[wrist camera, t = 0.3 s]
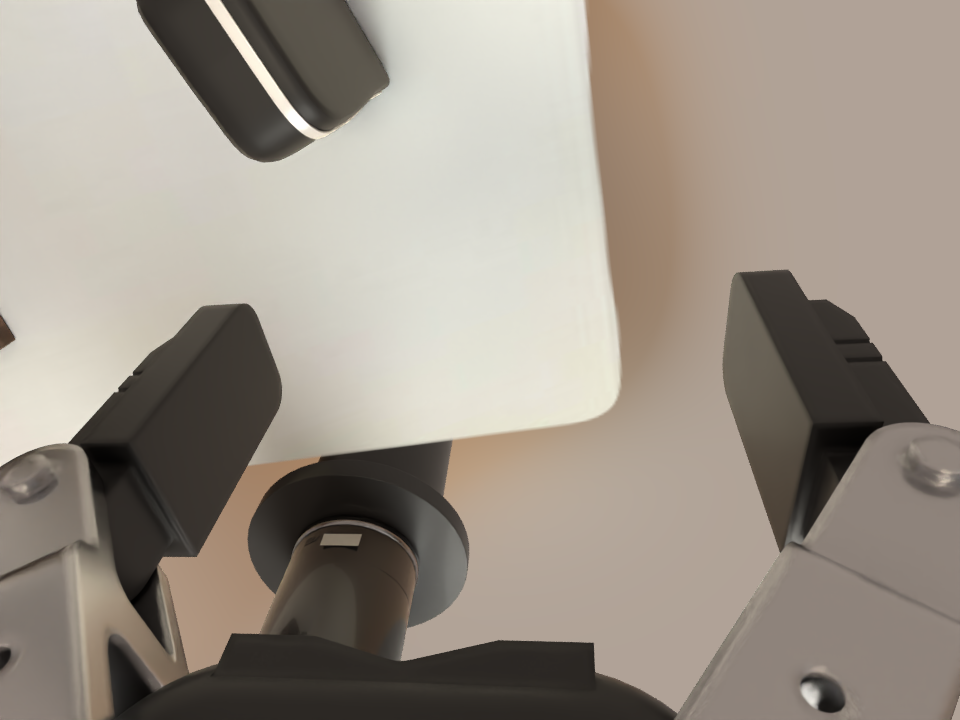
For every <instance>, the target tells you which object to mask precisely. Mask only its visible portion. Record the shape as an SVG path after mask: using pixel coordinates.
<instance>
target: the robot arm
mask: <svg viewBox="0 0 960 720" xmlns="http://www.w3.org/2000/svg"><path fill="white" fill-rule="evenodd" d="M723 379H724V386H725V391H726V395H727V398H728V401H729V403H730V407H731V410H732V412H733V415H734V418H735V421H736V424H737V427H738V430H739V433H740V436H741V439H742V442H743V445H744V448H745V450H746V454H747V457H748V460H749V463H750V465H751V468H752V471H753V474H754V477H755V480H756V483H757V486H758V489H759V492H760V495H761V498H762V500H763V504H764V507H765V510H766V513H767V516H768V518H769V521H770V524H771V527H772V530H773V533H774V536H775V539H776V542H777V545H778V548H779V551H780V554H779V556H778V557H777V559H776V560H775V562H774V563H773V565H772V567H771V568H770V570H769V571H768V573H767V574H766V576H765V578H764V579H763V581H762V582H761V584H760V585H759V587H758V589H757V590H756V592H755V593H754V595H753V596H752V598H751V599H750V601H749V603H748V604H747V606H746V607H745V609H744V610H743V612H742V614H741V615H740V617H739V618H738V620H737V622H736V623H735V625H734V626H733V628H732V629H731V631H730V632H729V634H728V636H727V637H726V639H725V641H724V642H723V643H722V645H721V647H720V648H719V650H718V651H717V653H716V654H715V656H714V658H713V659H712V661H711V662H710V664H709V665H708V667H707V668H706V670H705V672H704V673H703V675H702V677H701V678H700V679H699V681H698V683H697V684H696V686H695V687H694V689H693V690H692V692H691V694H690V695H689V697H688V698H687V700H686V702H685V703H684V705H683V706H682V708H681V709H680V711H679V712H678V714H677V713H676V712H675V711H673V710H672V709H670V708H669V707H668V706H666V705H665V704H664V703H662V702H661V701H659V700H657V699H656V698H654V697H652V696H650V695H649V694H647V693H645V692H643V691H642V690H640V689H638V688H636V687H634V686H631V685H629V684H626V683H624V682H622V681H620V680H617V679H615V678H611V677H608V676H605V675H602V674H599V673H596V672H595V664H594V643H579V642H542V641H503V640H502V641H500V640H498V641H494V642H489V643H485V644H480V645H476V646H471V647H467V648H462V649H458V650H453V651H449V652H444V653H440V654H435V655H431V656H426V657H422V658H417V659H413V660H407V661H401V656H402V650H403V645H404V639H405V634H406V629H407V624H408V618H409V614H410V609H411V604H412V598H413V593H414V589H415V586H416V584H417V579H418V574H419V559H418V555H417V553H416V550H415V549H414V547H413V545H412V544H411V543H410V541H409V540H408V539H407V538H406V537H405V536H404V535H403V534H402V533H400V532H399V531H398V530H396V529H395V528H393V527H392V526H390V525H388V524H386V523H384V522H382V521H379V520H376V519H373V518H370V517H366V516H360V515H351V514H343V515H334V516H329V517H325V518H322V519H319V520H317V521H315V522H313V523H312V524H310V525H309V526H307V527H306V528H305V529H304V530H303V531H302V533H301V534H300V535H299V537H298V539H297V542H296V544H295V546H294V549H293V552H292V557H291V560H290V562H289V565H288V567H287V569H286V572H285V574H284V577H283V579H282V581H281V583H280V586H279V588H278V590H277V593H276V595H275V598H274V600H273V602H272V605H271V607H270V610H269V612H268V615H267V617H266V620H265V622H264V624H263V627H262V629H261V631H260V634H232V635H231V637H230V639H229V641H228V643H227V646H226V648H225V650H224V652H223V654H222V657H221V659H220V661H219V663H218V664H216V665H213V666H210V667H207V668H204V669H201V670H198V671H195V672H192V673H190V674H189V671H188V667H187V663H186V658H185V654H184V649H183V645H182V640H181V636H180V632H179V627H178V623H177V618H176V614H175V610H174V605H173V601H172V596H171V592H170V587H169V583H168V579H167V577H166V575H165V574H164V572H163V571H162V569H161V568H160V566H159V565H158V564H159V562H160V560H161V559H162V557H197V555H198V553H199V552H200V550H201V548H202V546H203V545H204V543H205V541H206V539H207V537H208V535H209V534H210V532H211V530H212V528H213V526H214V525H215V523H216V521H217V519H218V517H219V515H220V514H221V512H222V510H223V508H224V507H225V505H226V503H227V501H228V499H229V498H230V496H231V494H232V492H233V490H234V489H235V487H236V485H237V483H238V481H239V480H240V478H241V476H242V474H243V472H244V471H245V469H246V467H247V465H248V463H249V462H250V460H251V458H252V456H253V454H254V453H255V451H256V449H257V447H258V445H259V444H260V442H261V440H262V438H263V436H264V435H265V433H266V431H267V429H268V427H269V426H270V424H271V422H272V420H273V418H274V417H275V415H276V413H277V411H278V409H279V406H280V403H281V397H282V384H281V378H280V375H279V372H278V369H277V367H276V364H275V361H274V359H273V356H272V353H271V351H270V348H269V346H268V343H267V340H266V338H265V335H264V332H263V330H262V327H261V324H260V322H259V319H258V317H257V314H256V313H255V311H254V309H253V308H252V307H251V306H250V305H248V304H227V305H211V306H203V307H201V308H200V309H199V310H198V311H197V312H196V313H195V314H194V315H193V316H192V317H191V318H190V320H189V321H188V322H187V323H186V324H185V325H184V326H183V327H182V329H181V330H180V331H179V332H178V333H177V334H176V335H175V336H174V337H173V338H172V339H170V340H169V341H167V342H166V343H164V344H163V345H161V346H160V347H158V348H157V349H155V350H154V351H152V352H151V353H150V354H149V355H148V356H147V357H146V358H145V359H144V360H143V362H142V363H141V364H140V365H139V366H138V367H137V368H136V369H135V370H134V371H133V376H129V377H128V378H127V379H126V380H125V381H124V382H123V384H122V385H121V386H120V387H119V388H118V389H119V392H114V393H113V395H112V396H111V397H110V398H109V399H108V400H107V401H106V402H105V403H104V404H103V406H102V407H101V408H100V409H99V410H98V411H97V412H96V413H95V414H94V415H93V417H92V418H91V419H90V420H89V421H88V422H87V423H86V424H85V425H84V426H83V428H82V429H81V430H80V431H79V432H78V433H77V434H76V435H75V436H74V437H73V438H72V440H71V441H70V442H69V443H68V444H66V443H63V444H53V445H48V446H44V447H40V448H37V449H34V450H32V451H29V452H27V453H24V454H22V455H20V456H18V457H16V458H14V459H12V460H11V461H9V462H7V463H6V464H4V465H2V466H1V467H0V720H951V719H952V716H953V713H954V710H955V707H956V705H957V702H958V699H959V696H960V431H957V430H954V429H950V428H947V427H943V426H939V425H933V424H930V423H929V421H928V420H927V418H926V417H925V416H924V414H923V413H922V411H921V410H920V409H919V407H918V406H917V404H916V403H915V402H914V400H913V399H912V397H911V396H910V395H909V393H908V392H907V390H906V389H905V388H904V386H903V385H902V383H901V382H900V380H899V379H898V378H897V376H896V375H895V373H894V372H893V371H892V369H891V368H890V366H889V365H888V364H887V362H886V361H882V355H881V354H880V352H879V351H878V350H877V348H876V347H875V345H874V344H873V343H870V342H869V337H868V336H867V334H866V333H865V331H864V330H863V329H862V327H861V326H860V324H859V323H858V322H857V320H856V319H855V317H853V316H852V315H850V314H849V313H847V312H845V311H844V310H842V309H841V308H839V307H837V306H836V305H834V304H832V303H831V302H829V301H827V300H808V299H807V297H806V296H805V294H804V293H803V291H802V290H801V288H800V286H799V285H798V283H797V282H796V280H795V278H794V277H793V275H792V273H791V272H790V271H788V270H773V271H757V272H740V273H736V274H735V275H734V277H733V280H732V284H731V291H730V300H729V308H728V317H727V325H726V335H725V343H724V352H723Z"/></svg>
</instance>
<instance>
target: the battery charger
mask: <svg viewBox="0 0 960 720" xmlns="http://www.w3.org/2000/svg"><path fill="white" fill-rule="evenodd" d="M136 1H137V7H138V11H139V13H140V15H141V17H142V19H143V21H144V23H145V24H146V26H147V27H148V29H149V30H150V32H151V34H152V35H153V36H154V38H155V39H156V41H157V42H158V43H159V45H160V46H161V48H162V49H163V50H164V52H165V53H166V55H167V56H168V57H169V59H170V60H171V62H172V63H173V64H174V66H175V67H176V69H177V70H178V71H179V73H180V74H181V76H182V77H183V78H184V80H185V81H186V83H187V84H188V85H189V87H190V88H191V90H192V91H193V92H194V94H195V95H196V96H197V98H198V99H199V100H200V102H201V103H202V104H203V106H204V107H205V108H206V110H207V111H208V113H209V114H210V115H211V117H212V118H213V119H214V121H215V122H216V123H217V125H218V126H219V127H220V129H221V130H222V131H223V133H224V134H225V135H226V137H227V138H228V139H229V140H230V142H231V143H232V144H233V145H234V146H235V147H236V148H237V149H238V150H239V151H240V152H241V153H242V154H244V155H245V156H246V157H248V158H250V159H253V160H256V161H260V162H274V161H279V160H282V159H284V158H286V157H288V156H290V155H292V154H294V153H296V152H298V151H299V150H301V149H303V148H304V147H306V146H307V145H309V144H310V143H312V142H314V141H315V140H317V139H321V138H324V137H326V136H327V135H329V134H331V133H332V132H334V131H336V130H337V129H339V128H340V127H342V126H343V125H345V124H346V123H348V122H349V121H350V120H351V119H352V118H353V117H354V116H355V115H356V114H357V113H358V112H359V111H360V110H361V109H362V108H363V107H364V106H365V104H366V103H367V102H368V101H369V100H371V99H372V98H375V97H376V96H378V95H379V94H381V93H382V90H383V89H385V88H386V87H387V86H388V85H389V77H388V75H387V73H386V71H385V69H384V68H383V66H382V64H381V63H380V61H379V59H378V57H377V56H376V54H375V52H374V50H373V49H372V47H371V45H370V44H369V42H368V40H367V38H366V37H365V35H364V33H363V32H362V30H361V28H360V26H359V25H358V23H357V21H356V19H355V18H354V16H353V14H352V13H351V11H350V9H349V8H348V6H347V4H346V2H345V1H344V0H136Z"/></svg>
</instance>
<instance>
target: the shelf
mask: <svg viewBox="0 0 960 720" xmlns="http://www.w3.org/2000/svg"><path fill="white" fill-rule="evenodd" d="M14 340H15V338H14V336H13V335H12V333H11V332H10V330H9V329H8V327H7V325H6V324H5V322H4V321H3V319H2V318H1V316H0V350H1V349H2V348H4V347H5V346H7V345H8V344H10V343H11V342H13V341H14Z"/></svg>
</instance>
